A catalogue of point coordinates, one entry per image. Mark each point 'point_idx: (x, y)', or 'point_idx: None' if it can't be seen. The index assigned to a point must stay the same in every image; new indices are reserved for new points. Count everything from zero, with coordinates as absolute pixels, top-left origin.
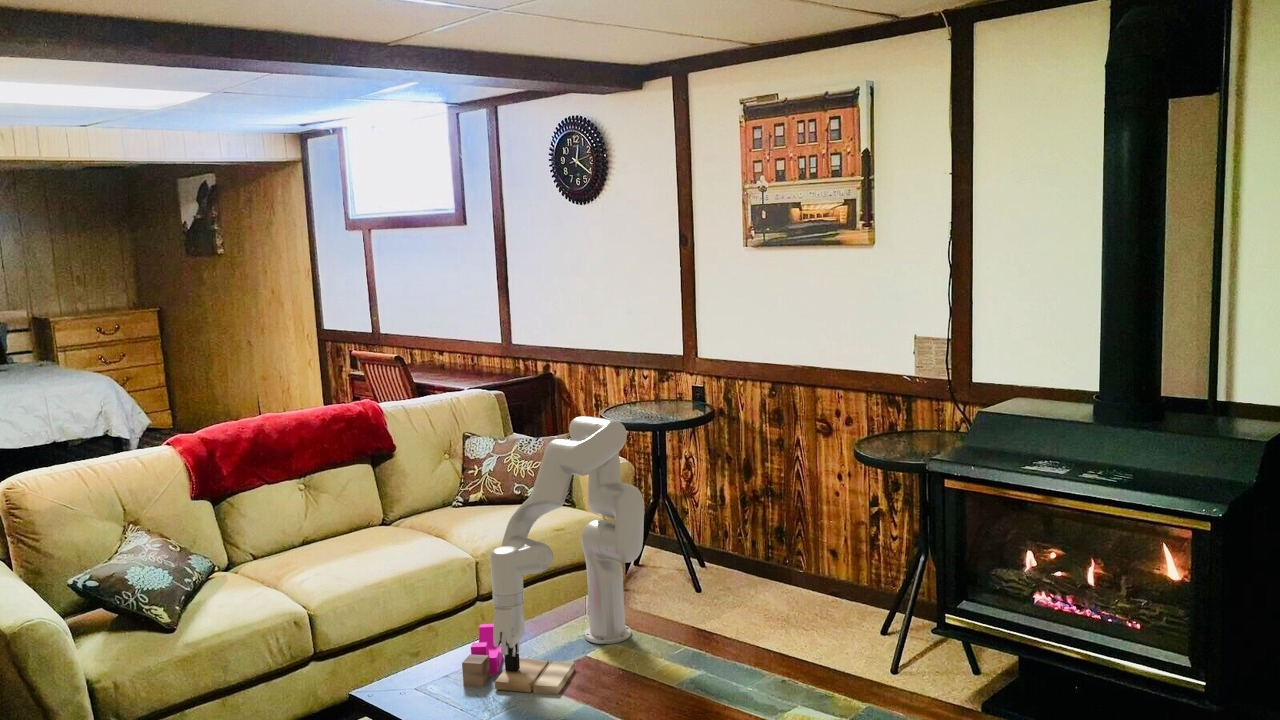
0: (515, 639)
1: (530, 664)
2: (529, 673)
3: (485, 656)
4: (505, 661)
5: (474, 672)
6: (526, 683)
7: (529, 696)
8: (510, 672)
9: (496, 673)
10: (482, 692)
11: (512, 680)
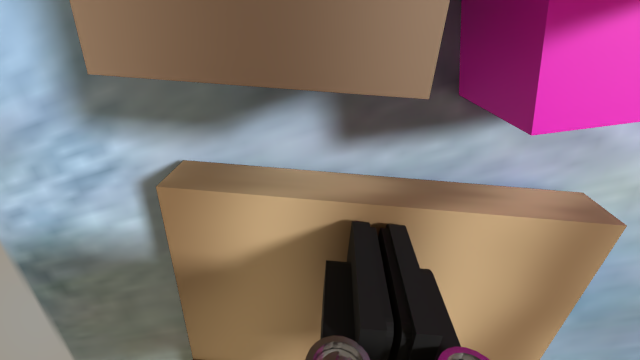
0: None
1: (469, 332)
2: None
3: (385, 50)
4: (356, 277)
5: None
6: (205, 348)
7: (176, 325)
8: (332, 252)
9: (459, 88)
10: None
11: (215, 284)
